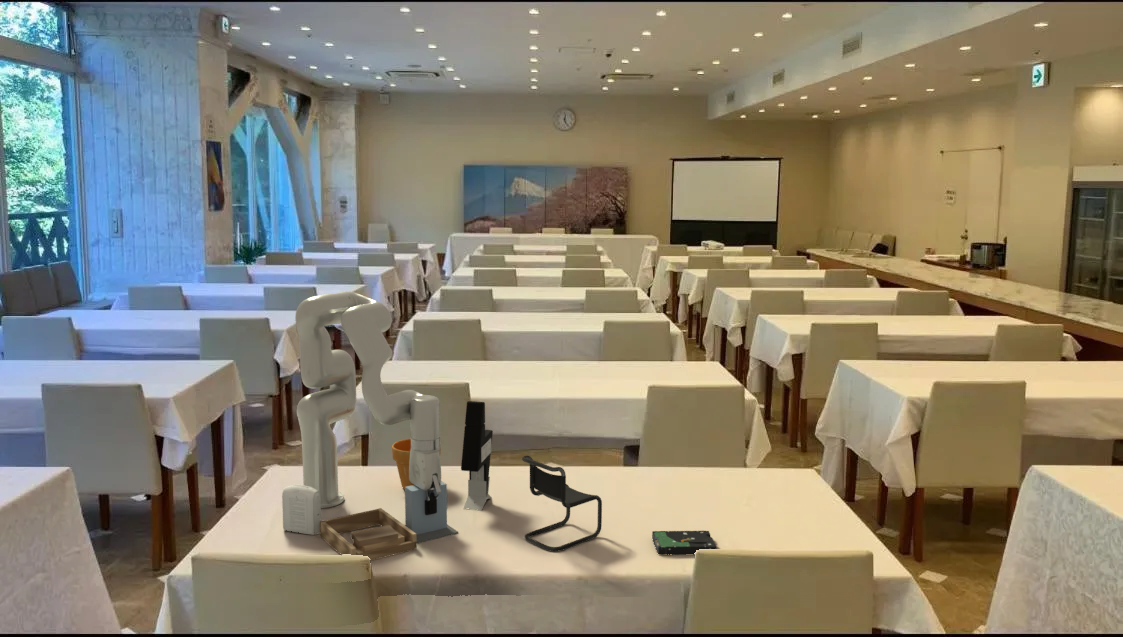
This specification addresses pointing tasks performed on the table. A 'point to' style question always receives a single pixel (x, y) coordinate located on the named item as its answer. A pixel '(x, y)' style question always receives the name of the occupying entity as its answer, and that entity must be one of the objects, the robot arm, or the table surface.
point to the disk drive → (682, 542)
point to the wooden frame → (363, 520)
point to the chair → (558, 499)
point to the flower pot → (403, 460)
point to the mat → (435, 534)
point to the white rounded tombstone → (301, 509)
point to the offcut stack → (375, 538)
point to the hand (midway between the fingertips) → (426, 510)
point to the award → (476, 455)
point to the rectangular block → (416, 510)
